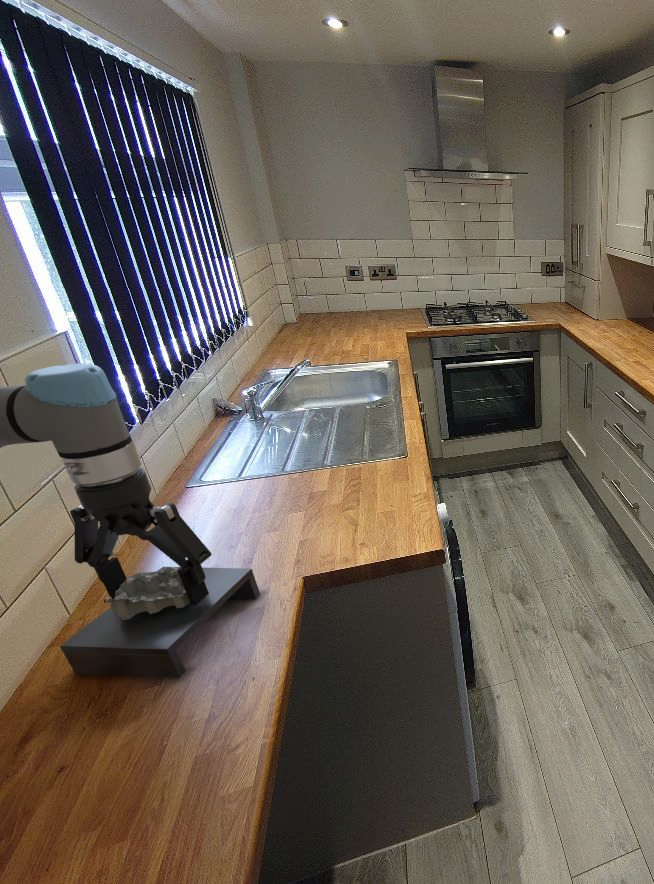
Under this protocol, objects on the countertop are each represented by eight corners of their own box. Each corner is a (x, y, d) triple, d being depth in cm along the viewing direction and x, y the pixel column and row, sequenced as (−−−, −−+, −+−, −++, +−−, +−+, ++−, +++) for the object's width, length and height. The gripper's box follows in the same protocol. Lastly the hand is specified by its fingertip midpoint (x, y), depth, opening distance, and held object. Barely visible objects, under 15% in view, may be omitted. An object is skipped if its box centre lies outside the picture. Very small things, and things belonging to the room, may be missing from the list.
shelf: (75, 674, 76) (59, 646, 74) (173, 591, 93) (162, 566, 91) (179, 678, 76) (166, 649, 73) (260, 593, 92) (251, 568, 90)
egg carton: (108, 624, 77) (97, 602, 75) (131, 591, 83) (122, 571, 82) (193, 607, 80) (184, 585, 78) (209, 577, 87) (201, 557, 85)
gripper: (-3, 486, 70) (64, 613, 79) (170, 490, 69) (218, 617, 78) (54, 462, 77) (109, 580, 86) (211, 464, 76) (252, 584, 84)
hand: (161, 598), depth 82 cm, fingers closed on egg carton, 12 cm apart
